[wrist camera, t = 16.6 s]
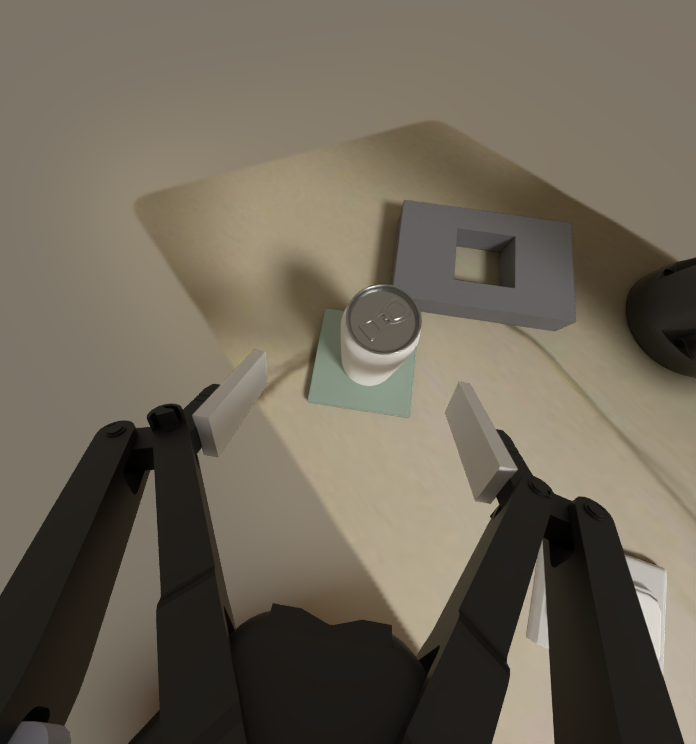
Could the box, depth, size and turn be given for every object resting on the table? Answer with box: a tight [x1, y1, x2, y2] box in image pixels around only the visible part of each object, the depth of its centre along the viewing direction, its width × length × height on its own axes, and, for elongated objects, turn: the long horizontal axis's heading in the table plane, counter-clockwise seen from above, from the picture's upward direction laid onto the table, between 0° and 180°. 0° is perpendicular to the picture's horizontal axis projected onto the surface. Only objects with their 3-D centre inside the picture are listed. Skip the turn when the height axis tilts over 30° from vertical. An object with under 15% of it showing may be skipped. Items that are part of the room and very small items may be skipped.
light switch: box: [526, 540, 667, 675], centre depth 25 cm, size 11×4×13 cm
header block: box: [391, 200, 576, 331], centre depth 32 cm, size 22×14×3 cm, turn 81°
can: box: [341, 284, 421, 386], centre depth 24 cm, size 6×6×12 cm
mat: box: [308, 308, 417, 418], centre depth 30 cm, size 12×12×1 cm
